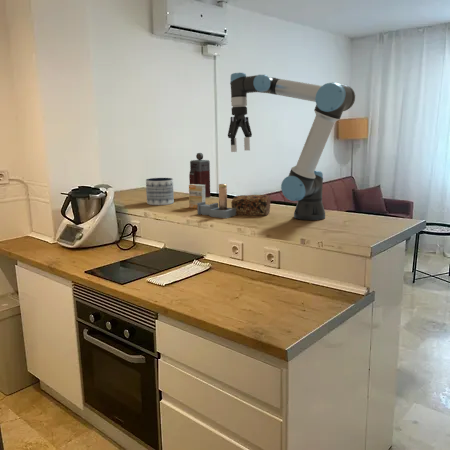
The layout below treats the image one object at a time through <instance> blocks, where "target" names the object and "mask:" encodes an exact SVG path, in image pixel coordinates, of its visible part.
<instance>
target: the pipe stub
mask: <svg viewBox="0 0 450 450" xmlns="http://www.w3.org/2000/svg"><path fill="white" fill-rule="evenodd" d="M227 187H228V184H227V183H219V184H218V207H219V210H227V207H228V188H227Z"/></svg>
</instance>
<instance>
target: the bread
mask: <svg viewBox="0 0 450 450" xmlns="http://www.w3.org/2000/svg"><path fill="white" fill-rule="evenodd" d="M231 208H236V215H237V216H238V215H239V216H260V217H261V216H267V215H269V214H270V210H271V197H270V196H269V195H267V194H247V195H246V194H244V195H236V196H235V197H233V198H232V200H231Z"/></svg>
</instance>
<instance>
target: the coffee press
mask: <svg viewBox="0 0 450 450" xmlns="http://www.w3.org/2000/svg"><path fill="white" fill-rule="evenodd" d="M195 156H196V159H193V160H192V159H191V160H190V161H189V168H190V169H189V175H188V177H189V181H188V182H189V185H190V184H199V185H205V198H209V197H211V168H210V167H211V166H210V165H211V164H210V160H209V159H204V154H203V153H202V152H198V153H196V155H195Z"/></svg>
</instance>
